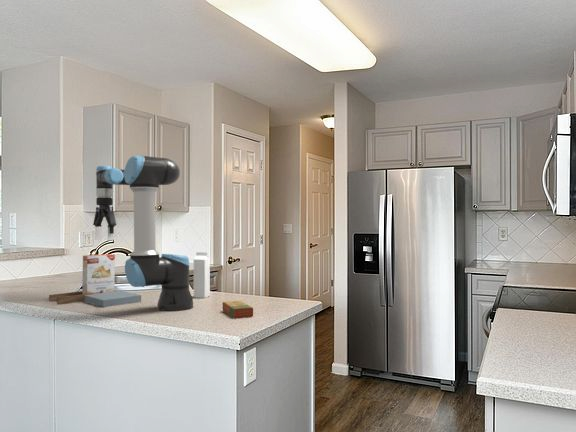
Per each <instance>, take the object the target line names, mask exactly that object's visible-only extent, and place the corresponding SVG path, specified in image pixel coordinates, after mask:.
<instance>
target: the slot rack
mask: <svg viewBox="0 0 576 432" xmlns="http://www.w3.org/2000/svg"><path fill="white" fill-rule="evenodd" d="M90 294H93V293H90ZM90 294H82V290H81V291H73V292H65V293H64V292H63V293H56V294H49V295H48V298H49V302H50V303H51V302H56V304H57V305H65V304H73V303H79V302H84V295H90Z"/></svg>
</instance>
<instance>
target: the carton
mask: <svg viewBox="0 0 576 432" xmlns="http://www.w3.org/2000/svg"><path fill="white" fill-rule="evenodd" d="M223 311H224V312H223ZM222 312H223V313H224V314H226V313H227V314H226V315H228V316H229V317H231V319H243V318H244V317H245V318H253V317H254V308H253V306H250V305H248V304H247V303H245V302H243V301H242V300H235V301H234V300H231V301H223V302H222ZM252 316H253V317H252ZM245 318H244V319H245Z"/></svg>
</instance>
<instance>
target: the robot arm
mask: <svg viewBox="0 0 576 432" xmlns="http://www.w3.org/2000/svg"><path fill="white" fill-rule="evenodd" d="M180 171H181V170H180V167H179V166H178V164H177V163H176V162H175V161H174V160H172V159H170V158H166V157H156V156H147V155H132V156H130V158H128V160H127V162H126V164H125V167H124V169H120V168H115V167H114V168H113V167H112V166H110V165H98V166H97V167H96V171H95V175H96V181H95V182H96V183H95V185H96V189H95V190H96V191H95V192H96V193H95V196H96V199H95V202H96V208H95V214H94V218H93V222H92V225H93V226H94V227H95V232H94V233H95V234H94V235H95V240H102V222H103V221H104V218H105V221H106V223H107V241H114V239H115V238H114V237H115V236H114V235H115V232H114V231H115V229H114V228H115V226H117V221H116V217H115V212H114V207H113V204H114V203H113V200H114V199H113V193H114V191H113V185H117V186H129V190H130V191H131V192H132V194H133V251H132V252H131V253H130V254H129V255H130V256H129V257H130V258H128V259H127V260H125V262H124V273H125V276H126V280H127V281H128V284H129V285H130V286H131V287H133V288H145V287H153V286H161V292H160V295H159V298H158V301H157V308H156V309H158V310H160V311H166V312H167V311H171V312H173V311H175V312H176V311H184V310H190V309H192V308H193V307H194V301H193V296H192V293H191V291H190V260H189V259H190V258H189V257H188V256H186V255H180V254H171V253H161V257H160V252H159V251H157V250H156V248H157V246H156V192H158V190H159V188H160V186H167V185H169V186H170V185H172V184H174V183H176V182H177V181H178V179H179V178H180V174H181V173H180Z"/></svg>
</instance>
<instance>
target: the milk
mask: <svg viewBox="0 0 576 432" xmlns="http://www.w3.org/2000/svg"><path fill="white" fill-rule="evenodd" d="M210 263H211V259H210V257H209V256H208V252H207V251H206V252H201V251H200V252H198V251H197V252H195V256H194V258H193V298H194V297H196V298H195V299H206V298H205V297H207V298H208V296H209V297H210V293H211V292H210V291H211V285H210V284H211V281H210V279H211V275H210V273H211V270H210V269H211V268H210V267H211V264H210ZM197 297H198V298H197Z"/></svg>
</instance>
